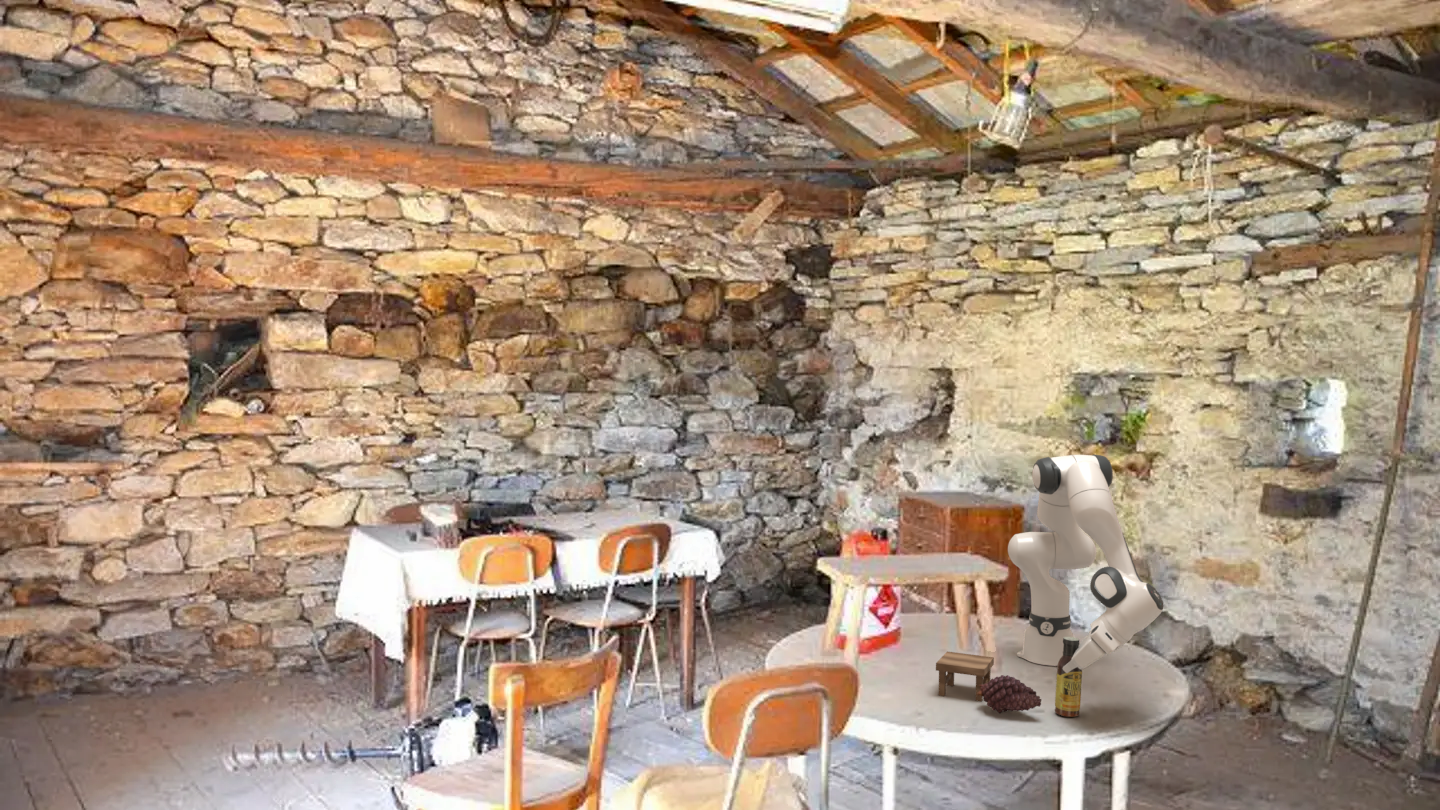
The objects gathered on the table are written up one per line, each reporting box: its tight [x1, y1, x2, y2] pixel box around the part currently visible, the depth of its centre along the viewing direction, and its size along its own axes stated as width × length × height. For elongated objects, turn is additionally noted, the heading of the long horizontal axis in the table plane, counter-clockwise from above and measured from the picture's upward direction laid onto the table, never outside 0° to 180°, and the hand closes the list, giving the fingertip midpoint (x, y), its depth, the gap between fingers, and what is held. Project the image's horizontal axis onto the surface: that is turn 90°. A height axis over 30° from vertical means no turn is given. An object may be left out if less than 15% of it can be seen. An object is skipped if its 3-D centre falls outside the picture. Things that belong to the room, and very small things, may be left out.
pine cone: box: [977, 674, 1042, 714], centre depth 284 cm, size 18×10×10 cm, turn 49°
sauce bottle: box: [1054, 636, 1083, 718], centre depth 283 cm, size 6×6×20 cm
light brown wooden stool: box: [935, 651, 995, 703], centre depth 301 cm, size 13×13×9 cm
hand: (1066, 666), depth 284 cm, fingers closed on sauce bottle, 6 cm apart
